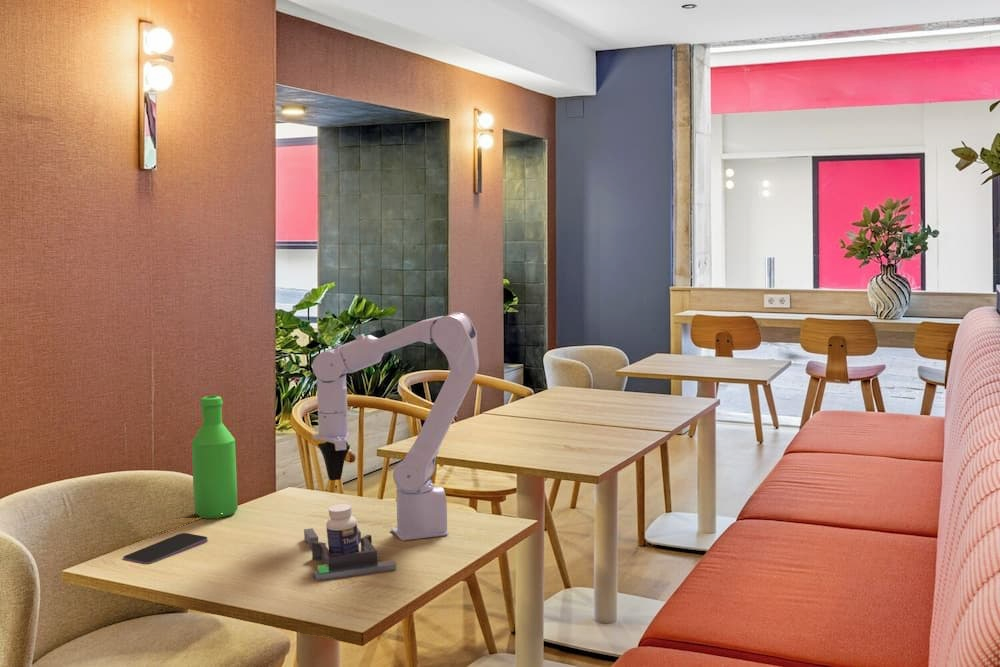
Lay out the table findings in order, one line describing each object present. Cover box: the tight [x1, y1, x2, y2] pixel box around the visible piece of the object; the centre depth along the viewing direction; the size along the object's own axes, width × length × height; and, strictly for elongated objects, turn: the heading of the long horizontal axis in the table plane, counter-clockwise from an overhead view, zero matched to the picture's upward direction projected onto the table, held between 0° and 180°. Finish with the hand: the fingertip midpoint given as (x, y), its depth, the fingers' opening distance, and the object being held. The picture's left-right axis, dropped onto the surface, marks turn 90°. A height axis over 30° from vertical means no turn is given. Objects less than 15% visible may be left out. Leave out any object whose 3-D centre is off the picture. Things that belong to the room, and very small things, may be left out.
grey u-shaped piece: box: [303, 527, 362, 549], centre depth 187 cm, size 10×6×2 cm, turn 111°
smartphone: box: [123, 532, 209, 565], centre depth 183 cm, size 7×1×15 cm
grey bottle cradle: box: [311, 534, 397, 582], centre depth 174 cm, size 14×12×3 cm
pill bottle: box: [325, 503, 360, 555], centre depth 175 cm, size 5×5×10 cm
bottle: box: [191, 395, 239, 519], centre depth 205 cm, size 9×9×25 cm
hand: (334, 479), depth 192 cm, fingers closed
